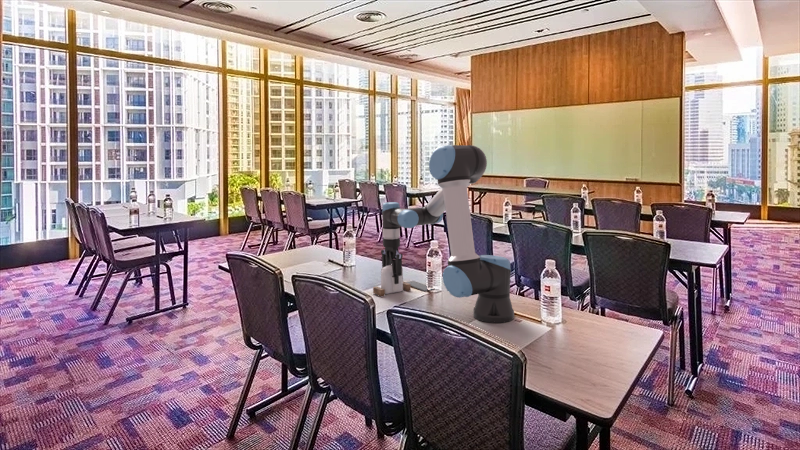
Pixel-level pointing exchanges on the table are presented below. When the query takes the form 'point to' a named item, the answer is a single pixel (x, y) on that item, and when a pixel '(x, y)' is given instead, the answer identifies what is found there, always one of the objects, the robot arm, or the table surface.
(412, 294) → the table surface
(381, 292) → the cradle
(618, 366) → the table surface
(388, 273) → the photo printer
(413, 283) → the mat
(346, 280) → the table surface
